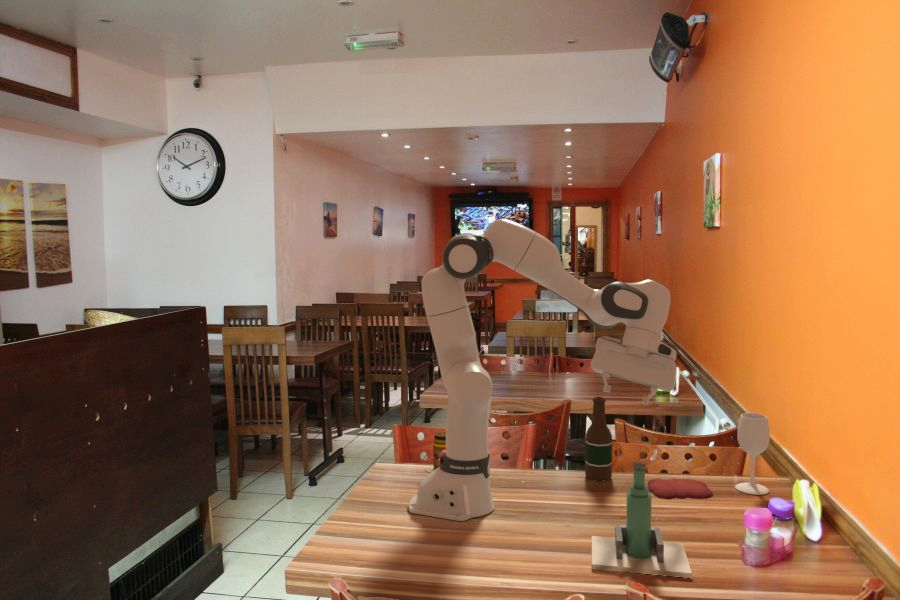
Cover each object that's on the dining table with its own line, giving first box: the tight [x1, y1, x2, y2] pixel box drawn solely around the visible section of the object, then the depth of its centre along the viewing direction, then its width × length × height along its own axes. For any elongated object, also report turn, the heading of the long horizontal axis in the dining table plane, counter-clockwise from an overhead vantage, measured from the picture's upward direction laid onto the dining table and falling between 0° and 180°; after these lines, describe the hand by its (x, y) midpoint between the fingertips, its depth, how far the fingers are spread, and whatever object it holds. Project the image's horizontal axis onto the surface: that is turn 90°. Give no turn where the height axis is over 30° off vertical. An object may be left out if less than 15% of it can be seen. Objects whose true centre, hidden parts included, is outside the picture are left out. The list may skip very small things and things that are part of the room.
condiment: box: [424, 432, 446, 474], centre depth 199 cm, size 7×8×12 cm
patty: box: [647, 478, 714, 500], centre depth 183 cm, size 18×14×2 cm
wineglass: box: [734, 412, 771, 496], centre depth 182 cm, size 9×9×21 cm
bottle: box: [625, 460, 653, 559], centre depth 141 cm, size 5×5×20 cm
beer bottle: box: [584, 396, 613, 482], centre depth 192 cm, size 8×8×24 cm
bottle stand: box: [591, 524, 693, 580], centre depth 142 cm, size 20×14×5 cm
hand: (625, 398), depth 158 cm, fingers open, 8 cm apart
